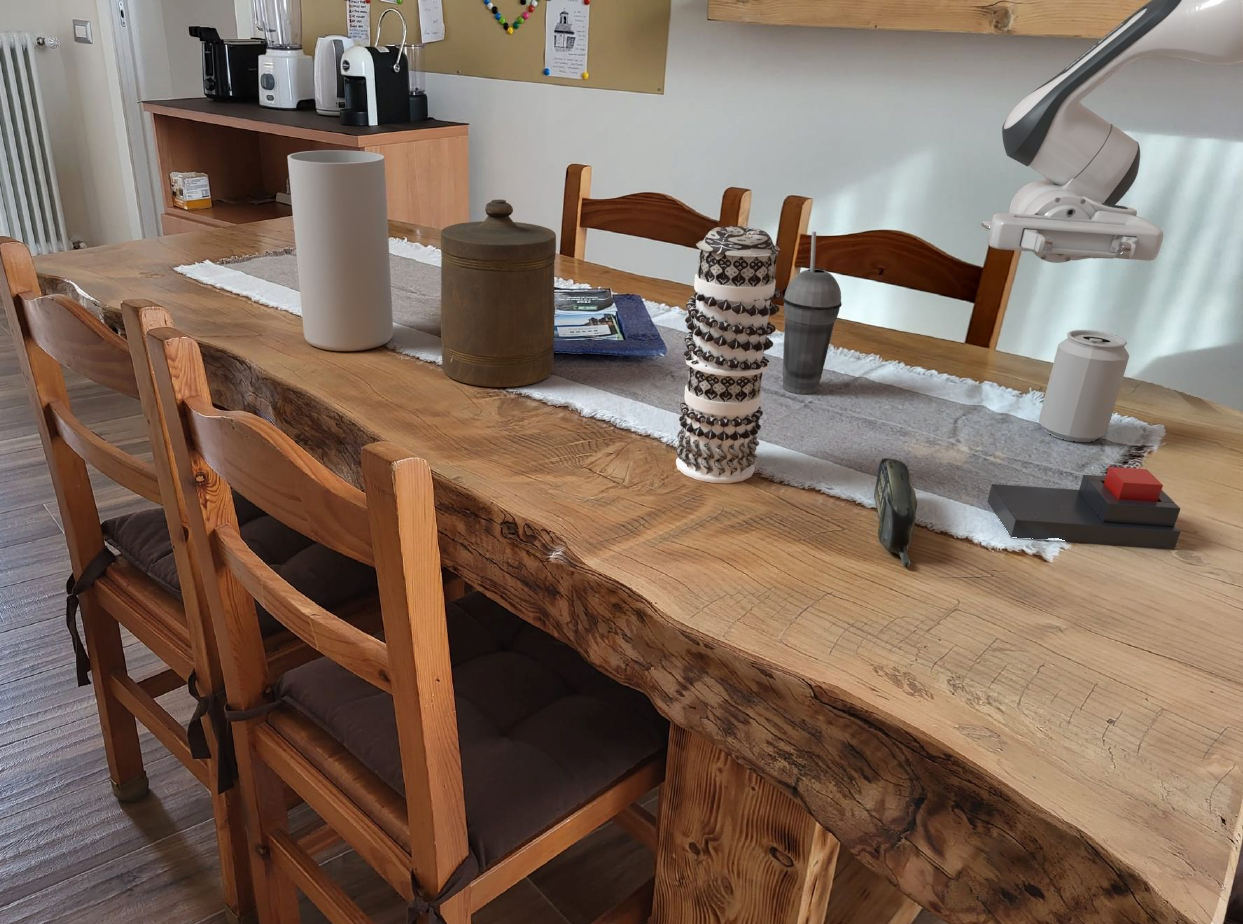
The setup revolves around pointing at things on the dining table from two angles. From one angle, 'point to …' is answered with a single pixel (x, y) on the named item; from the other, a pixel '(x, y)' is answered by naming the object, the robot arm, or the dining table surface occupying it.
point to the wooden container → (497, 300)
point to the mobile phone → (895, 507)
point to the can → (1084, 385)
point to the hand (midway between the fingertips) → (1086, 249)
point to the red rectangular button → (1132, 484)
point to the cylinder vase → (342, 248)
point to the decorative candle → (727, 354)
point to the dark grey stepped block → (1086, 515)
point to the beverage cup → (808, 326)
